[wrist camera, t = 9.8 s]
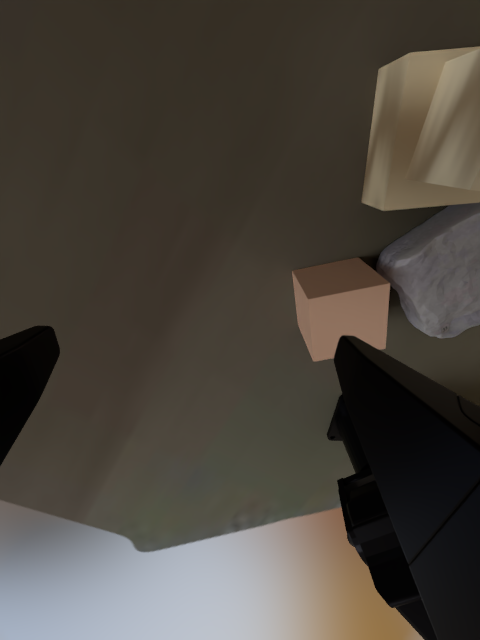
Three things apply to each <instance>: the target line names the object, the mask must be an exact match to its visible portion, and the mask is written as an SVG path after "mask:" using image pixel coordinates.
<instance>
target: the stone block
mask: <svg viewBox="0 0 480 640" xmlns="http://www.w3.org/2000/svg"><path fill="white" fill-rule="evenodd" d="M376 272H377V273H378V274H379V275H381V276H382V277H383V278H384V279H386V280H387V281H388V282H389V283H390V285H391V286H392V287H393V288H394V289H395V290H396V291H397V292H398V294H399V298H400V303H401V306H402V308H403V310H404V312H405V315H406V317H407V318H408V320H409V321H410V323H411V324H413V325H414V326H415V327H416V328H418V329H419V330H421V331H422V332H424V333H425V334H427V335H429V336H431V337H432V336H436V337H438V338H448V337H455V336H457V335H459V334H460V333H461V332H463V331H464V330H466V329H468V328H470V327H472V326H477V325H480V202H479V203H468V204H457V205H449V206H448V207H446V208H445V209H443V210H442V211H440V212H438V213H437V214H435V215H433V216H432V217H431V218H430V219H428V220H427V221H425V222H424V223H423V224H421V225H419V226H417V227H415V228H414V229H412V230H411V231H409V232H408V233H406V234H405V235H403V236H402V237H400V238H398V239H397V240H395V241H394V242H393V243H391V244H390V245H388V246H387V247H386V248H385V249H384V250H383V251H382V252H381V254H380V256H379V259H378V261H377V263H376Z"/></svg>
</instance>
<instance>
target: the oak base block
mask: <svg viewBox="0 0 480 640" xmlns="http://www.w3.org/2000/svg"><path fill="white" fill-rule="evenodd" d="M477 49H480V46H479V47H468V48H457V49H446V50H435V51H423V52H412V53H409V54H407V55H405V56H403V57H401V58H399V59H397V60H395V61H393V62H391V63H390V64H388V65H386V66H384V67H382V68H380V69H379V72H378V80H377V87H376V95H375V103H374V110H373V118H372V126H371V133H370V141H369V149H368V156H367V164H366V172H365V179H364V187H363V195H362V203H364V204H367V205H369V206H372V207H374V208H377V209H380V210H382V211H389V210H400V209H412V208H423V207H434V206H445V205H457V204H468V203H479V202H480V191H475V190H467V189H461V188H455V187H449V186H443V185H437V184H431V183H425V182H419V181H413V180H407V179H405V178H406V175H407V172H408V169H409V166H410V163H411V160H412V157H413V154H414V152H415V149H416V146H417V143H418V140H419V137H420V134H421V131H422V128H423V125H424V123H425V120H426V117H427V114H428V111H429V108H430V105H431V102H432V99H433V97H434V94H435V91H436V88H437V85H438V82H439V79H440V76H441V73H442V70H443V68H444V65H445V62H447V61H449V60H452V59H454V58H457V57H459V56H462V55H465V54H467V53H470V52H472V51H475V50H477Z"/></svg>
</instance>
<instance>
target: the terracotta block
mask: <svg viewBox="0 0 480 640" xmlns="http://www.w3.org/2000/svg"><path fill="white" fill-rule="evenodd" d="M292 274H293V283H294V292H295V301H296V310H297V319H298V326H299V328H300V331H301V333H302V335H303V338H304V340H305V343H306V345H307V347H308V350H309V352H310V354H311V357H312V359H313V362H315V361H320V360H326V359H331V358H334V355H335V351H336V348H337V344H338V341H339V338H340V337H341V336H342V335H352V336H355V337H357V338H359V339H361V340H362V341H364V342H366V343H368V344H369V345H371V346H373V347H375V348H377V349H378V350H380V349H385V348H386V334H387V321H388V307H389V294H390V283H389V282H388V281H387V280H386V279H384V278H383V277H382V276H381V275H379V274H378V273H377V272H376V271H375V270H373V269H372V268H371V267H370V266H368V265H367V264H366V263H365V262H363V261H362V260H361V259H360V258H358V257H357V258H352V259H347V260H342V261H337V262H332V263H327V264H322V265H317V266H312V267H307V268H303V269H298V270H293V271H292Z"/></svg>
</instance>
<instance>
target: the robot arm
mask: <svg viewBox="0 0 480 640" xmlns="http://www.w3.org/2000/svg"><path fill="white" fill-rule="evenodd" d="M59 354H60V348H59V344H58V341H57V338H56V335H55V331H54V329H53V328H52V327H50V326H34V327H32V328H29V329H26V330H24V331H21V332H19V333H16V334H13V335H11V336H8V337H6V338H3V339H1V340H0V466H1V464H2V462H3V461H4V459H5V457H6V456H7V454H8V452H9V450H10V449H11V447H12V445H13V444H14V442H15V440H16V439H17V437H18V435H19V433H20V432H21V430H22V428H23V427H24V425H25V423H26V422H27V420H28V418H29V416H30V415H31V413H32V411H33V410H34V408H35V406H36V405H37V403H38V401H39V399H40V397H41V395H42V393H43V391H44V389H45V387H46V384H47V382H48V380H49V378H50V375H51V373H52V371H53V369H54V366H55V364H56V362H57V360H58V357H59ZM334 363H335V367H336V371H337V375H338V379H339V382H340V386H341V390H342V394H343V395H341V396H340V397H339V400H338V403H337V406H336V409H335V412H334V415H333V418H332V421H331V424H330V427H329V430H328V433H327V437H328V439H329V440H334V441H343V443H344V445H345V448H346V450H347V453H348V455H349V458H350V460H351V463H352V465H353V468H354V470H355V473H356V474H353V475H351V476H349V477H346V478H344V479H343V478H341V479H339V480H337V482H338V487H339V490H338V491H339V496H340V501H341V506H342V511H343V517H344V521H345V527H346V531H347V538H348V541H349V543H350V544H351V545H352V546H354V547H355V548H356V550H357V552H358V554H359V555H360V557H361V559H362V560H363V561H364V563H365V564H366V565H367V566H368V567H369V570H370V573H371V576H372V579H373V582H374V585H375V588H376V590H377V591H378V593H379V594H380V595H381V596H382V598H383V599H384V600H385V601H386V603H387V604H388V605H389V606H390V607H391V608H394V607H395V608H396V609H397V610H398V611H399V612H400V613H401V615H402V616H403V617H404V618H405V619H406V620H407V621H408V622H409V623H410V624H411V626H412V627H413V628H414V629H415V630H416V631H417V632H418V633H419V634H420V635H421V636H422V637H423V639H424V640H480V407H479V406H477V405H475V404H473V403H472V402H470V401H468V400H466V399H465V398H463V397H461V396H457V394H456V393H454V392H452V391H450V390H449V389H447V388H445V387H443V386H442V385H440V384H438V383H436V382H435V381H433V380H431V379H429V378H427V377H426V376H424V375H422V374H420V373H419V372H417V371H415V370H413V369H412V368H410V367H408V366H406V365H405V364H403V363H401V362H399V361H398V360H396V359H394V358H392V357H391V356H389V355H387V354H385V353H384V352H382V351H380V350H378V349H377V348H375V347H373V346H371V345H369V344H368V343H366V342H364V341H362V340H361V339H359V338H357V337H355V336H352V335H342V336H341V337H340V338H339V341H338V344H337V348H336V351H335V355H334Z"/></svg>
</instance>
